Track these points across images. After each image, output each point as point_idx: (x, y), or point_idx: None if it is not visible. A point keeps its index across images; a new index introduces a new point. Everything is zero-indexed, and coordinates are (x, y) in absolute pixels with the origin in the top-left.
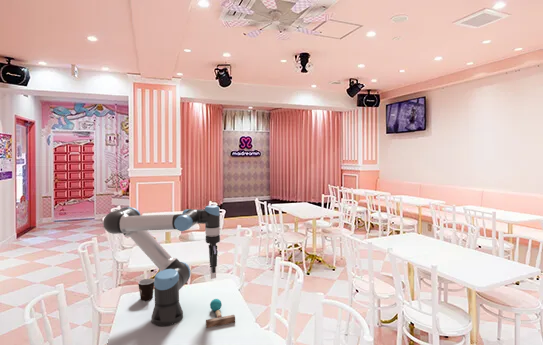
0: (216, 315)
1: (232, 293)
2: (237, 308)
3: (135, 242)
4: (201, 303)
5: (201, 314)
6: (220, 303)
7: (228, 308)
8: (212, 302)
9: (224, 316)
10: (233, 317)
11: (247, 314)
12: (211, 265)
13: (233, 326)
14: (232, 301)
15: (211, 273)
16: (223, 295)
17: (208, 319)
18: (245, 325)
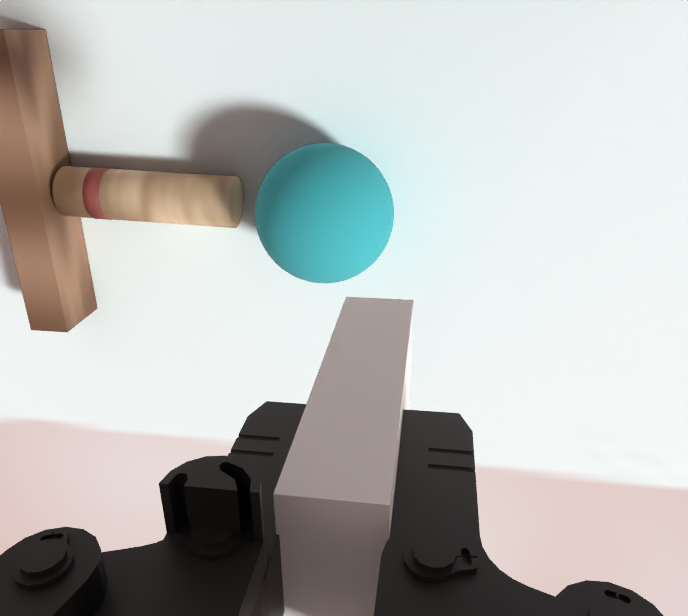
0: (160, 173)
1: (653, 451)
2: (303, 395)
3: None
4: (587, 62)
5: (299, 18)
6: (281, 267)
7: (332, 323)
8: (291, 179)
9: (46, 239)
10: (32, 312)
11: (172, 432)
12: (175, 559)
13: (4, 276)
14: (465, 397)
15: (325, 371)
16: (660, 357)
17: (8, 62)
18: (8, 364)
